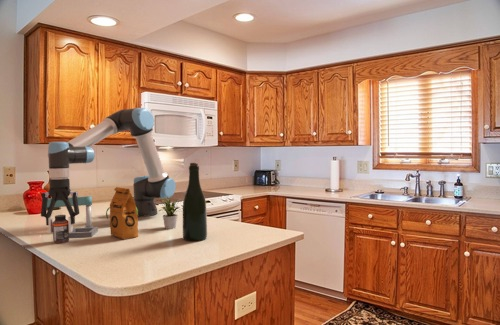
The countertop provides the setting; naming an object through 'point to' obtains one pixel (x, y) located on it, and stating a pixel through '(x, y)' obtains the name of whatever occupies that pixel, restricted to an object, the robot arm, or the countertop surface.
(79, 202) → the clip
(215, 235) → the countertop surface
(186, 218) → the dark green wine bottle
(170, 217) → the house plant
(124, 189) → the coffee package
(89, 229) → the grey stand with post
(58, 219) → the supplement bottle
